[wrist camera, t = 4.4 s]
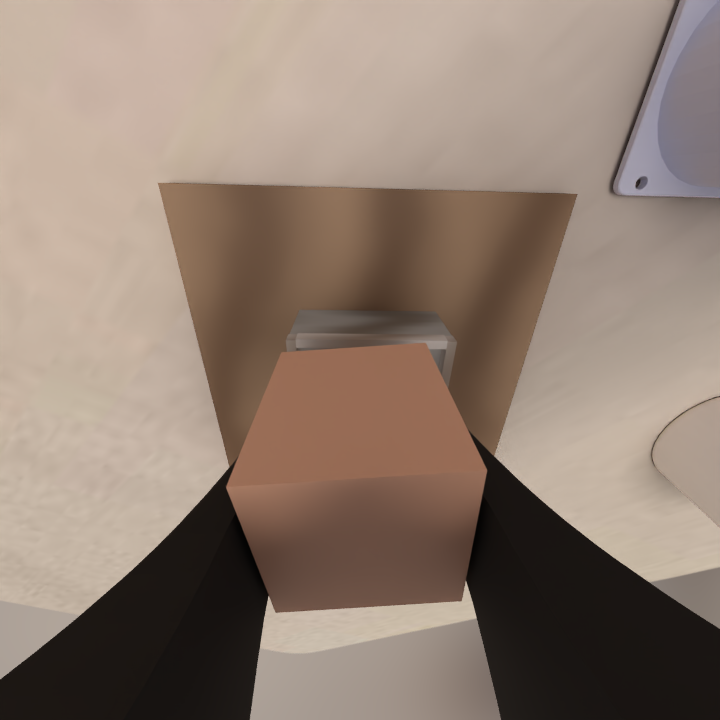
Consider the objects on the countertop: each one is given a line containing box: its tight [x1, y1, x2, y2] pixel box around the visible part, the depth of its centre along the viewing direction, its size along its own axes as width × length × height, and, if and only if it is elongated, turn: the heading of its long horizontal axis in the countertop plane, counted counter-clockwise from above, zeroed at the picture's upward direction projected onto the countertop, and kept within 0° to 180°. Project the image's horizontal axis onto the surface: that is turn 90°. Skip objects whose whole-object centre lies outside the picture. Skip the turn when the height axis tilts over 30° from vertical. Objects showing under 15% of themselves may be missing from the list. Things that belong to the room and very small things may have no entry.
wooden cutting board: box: [158, 183, 577, 467], centre depth 17 cm, size 18×18×5 cm
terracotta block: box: [226, 343, 487, 613], centre depth 9 cm, size 4×4×5 cm
